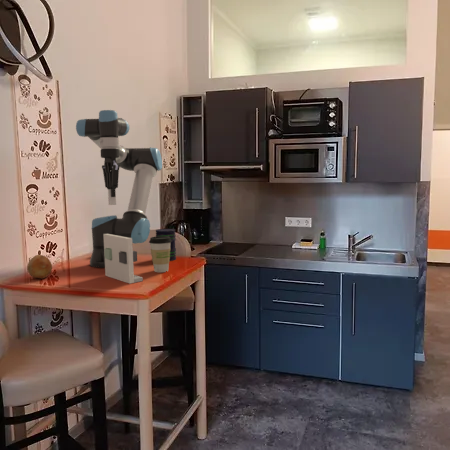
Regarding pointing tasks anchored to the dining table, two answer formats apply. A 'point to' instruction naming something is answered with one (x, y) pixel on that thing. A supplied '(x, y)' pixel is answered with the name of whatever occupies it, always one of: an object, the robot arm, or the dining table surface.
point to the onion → (39, 266)
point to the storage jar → (172, 236)
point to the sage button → (108, 253)
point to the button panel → (113, 265)
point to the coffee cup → (160, 252)
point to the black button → (124, 257)
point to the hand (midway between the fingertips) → (112, 204)
